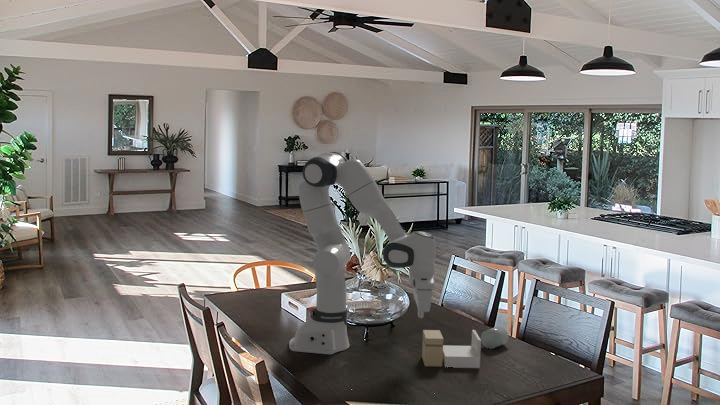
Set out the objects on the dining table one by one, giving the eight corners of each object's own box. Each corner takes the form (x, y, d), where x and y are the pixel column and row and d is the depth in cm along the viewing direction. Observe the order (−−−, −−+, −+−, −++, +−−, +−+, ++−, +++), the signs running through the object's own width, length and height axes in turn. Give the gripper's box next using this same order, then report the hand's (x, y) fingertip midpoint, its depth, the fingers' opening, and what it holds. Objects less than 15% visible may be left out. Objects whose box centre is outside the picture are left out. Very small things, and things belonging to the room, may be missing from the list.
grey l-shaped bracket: (445, 367, 226) (446, 339, 225) (440, 355, 237) (441, 329, 235) (479, 368, 226) (481, 340, 225) (473, 356, 237) (474, 329, 236)
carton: (442, 366, 227) (424, 366, 227) (438, 357, 236) (421, 356, 236) (443, 338, 226) (425, 338, 225) (439, 330, 235) (422, 329, 234)
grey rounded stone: (482, 327, 247) (494, 323, 253) (479, 344, 249) (491, 339, 254) (498, 334, 242) (510, 330, 248) (494, 352, 244) (506, 347, 250)
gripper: (410, 271, 238) (408, 308, 239) (416, 285, 217) (414, 325, 219) (427, 271, 238) (426, 308, 239) (434, 285, 217) (433, 326, 219)
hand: (420, 316), depth 229 cm, fingers closed
